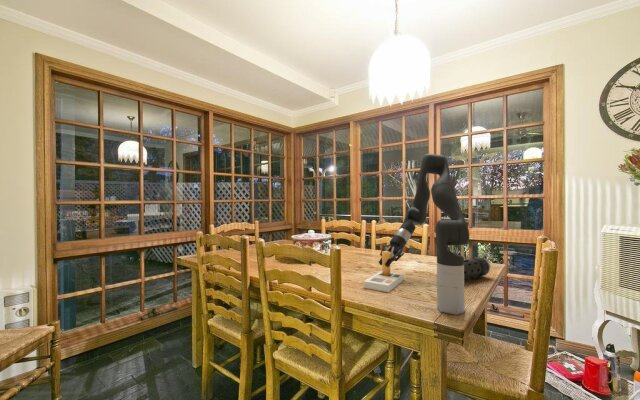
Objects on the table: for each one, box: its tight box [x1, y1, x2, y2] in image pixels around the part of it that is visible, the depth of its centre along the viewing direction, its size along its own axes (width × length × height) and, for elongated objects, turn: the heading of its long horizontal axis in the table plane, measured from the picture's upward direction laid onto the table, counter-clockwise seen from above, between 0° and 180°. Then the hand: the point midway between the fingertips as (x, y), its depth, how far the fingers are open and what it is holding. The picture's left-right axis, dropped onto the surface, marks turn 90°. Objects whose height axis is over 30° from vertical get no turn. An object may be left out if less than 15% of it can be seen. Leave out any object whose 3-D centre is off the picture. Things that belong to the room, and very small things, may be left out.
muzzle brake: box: [464, 256, 491, 280], centre depth 141 cm, size 10×28×10 cm, turn 116°
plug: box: [381, 251, 391, 277], centre depth 142 cm, size 4×4×12 cm
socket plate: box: [363, 270, 405, 293], centre depth 136 cm, size 22×12×3 cm, turn 146°
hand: (383, 265), depth 141 cm, fingers closed on plug, 4 cm apart
